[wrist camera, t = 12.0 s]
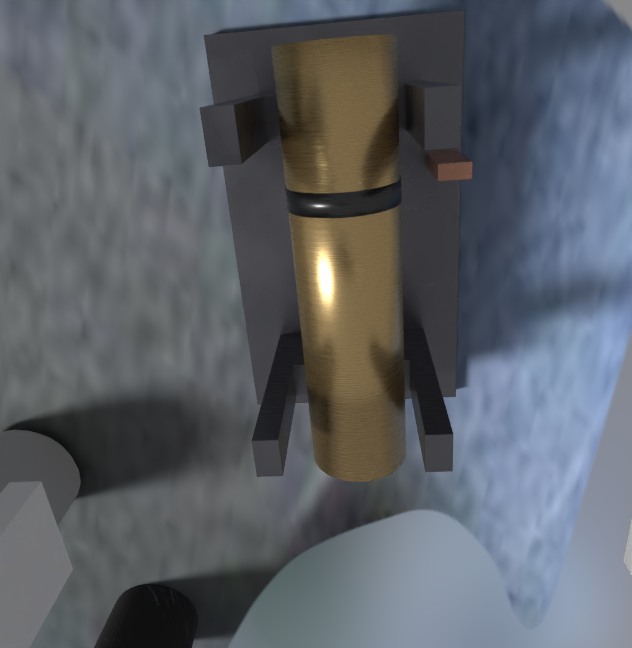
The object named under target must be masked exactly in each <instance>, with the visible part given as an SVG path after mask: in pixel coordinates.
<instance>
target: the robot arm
mask: <svg viewBox="0 0 632 648" xmlns="http://www.w3.org/2000/svg"><path fill="white" fill-rule="evenodd" d="M624 562H625V564H626V566H627V567H628V570H629V571H630V573H631V575H632V521H631V526H630V531H629V536H628V541H627V546H626V551H625V557H624ZM72 570H73V568H72V565H71V562H70V560H69V557H68V554H67V551H66V549H65V546H64V543H63V540H62V537H61V535H60V532H59V529H58V526H57V523H56V521H55V518H54V515H53V512H52V510H51V507H50V504H49V501H48V498H47V496H46V493H45V490H44V487H43V484H42V482H41V481H34V482H9V483H8V485H7V486H6V487H5V488H4V490H3V491H2V492H1V493H0V648H29V647H30V646H31V644H32V642H33V640H34V638H35V637H36V635H37V633H38V631H39V630H40V628H41V626H42V624H43V622H44V621H45V619H46V617H47V615H48V613H49V612H50V610H51V608H52V606H53V604H54V603H55V601H56V599H57V597H58V595H59V594H60V592H61V590H62V588H63V586H64V585H65V583H66V581H67V579H68V577H69V576H70V574H71V572H72Z"/></svg>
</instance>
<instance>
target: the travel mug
mask: <svg viewBox="0 0 632 648" xmlns="http://www.w3.org/2000/svg"><path fill="white" fill-rule="evenodd" d="M196 627H197V613H196V610H195V608H194V607H193V605H192V604H191V603H190V601H189V600H188V599H187V598H185V597H184V596H183V595H181V594H180V593H178V592H176V591H174V590H172V589H169V588H166V587H162V586H157V585H141V586H137V587H133V588H131V589H129V590H127V591H125V592H124V593H123V594H122V595H121V596H120V597H119V599H118V600H117V602H116V604H115V606H114V608H113V610H112V612H111V614H110V616H109V618H108V620H107V622H106V624H105V626H104V628H103V630H102V632H101V634H100V636H99V638H98V640H97V643H96V645H95V647H94V648H192V644H193V640H194V636H195V632H196Z"/></svg>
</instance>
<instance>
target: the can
mask: <svg viewBox="0 0 632 648" xmlns="http://www.w3.org/2000/svg"><path fill="white" fill-rule="evenodd" d="M34 481H41V482H42V484H43V487H44V490H45V493H46V496H47V498H48V501H49V504H50V507H51V510H52V512H53V515H54V518H55V521H56V523H57V526H58V524H59V523H60V521H61V519H62V518H63V516H64V515H65V513H66V512H67V510H68V509H69V507H70V506H71V504H72V503H73V501H74V499H75V498H76V496H77V495H78V492H79V488H80V484H81V480H80V474H79V469H78V467H77V466H76V464H75V462H74V460H73V458H72V457H71V456H70V454H69V453H68V452H67V451H66V450H65V449H64V448H63V447H62V445H61V444H59V443H58V442H56V441H55V440H53V439H51V438H50V437H48V436H45V435H42V434H39V433H34V432H31V431H24V430H9V431H4V432H0V493H1V492H2V491H3V490H4V488H5V487H6V486H7V485H8V483H9V482H34Z"/></svg>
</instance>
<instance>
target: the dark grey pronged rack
mask: <svg viewBox="0 0 632 648" xmlns="http://www.w3.org/2000/svg"><path fill="white" fill-rule="evenodd" d="M464 25H465V10H458V11H448V12H437V13H427V14H417V15H407V16H396V17H386V18H376V19H366V20H355V21H345V22H335V23H325V24H315V25H304V26H294V27H284V28H274V29H263V30H253V31H243V32H233V33H222V34H212V35H204V39H205V46H206V53H207V60H208V66H209V73H210V80H211V87H212V94H213V101H214V104H213V105H209V106H205V107H200V114H201V120H202V126H203V133H204V139H205V146H206V152H207V158H208V165H209V167H214V166H223V169H224V176H225V183H226V190H227V197H228V204H229V210H230V217H231V224H232V231H233V238H234V245H235V251H236V258H237V265H238V272H239V279H240V286H241V293H242V299H243V306H244V313H245V320H246V327H247V334H248V341H249V347H250V354H251V361H252V368H253V375H254V382H255V389H256V395H257V402H258V404H261V408H260V412H259V416H258V419H257V423H256V427H255V430H254V434H253V438H252V447H253V453H254V459H255V466H256V472H257V477H261V476H283V472H284V466H285V460H286V454H287V448H288V442H289V436H290V431H291V425H292V419H293V413H294V407H295V403H307V402H308V393H307V383H306V374H305V364H304V354H303V345H302V335H301V326H300V316H299V307H298V297H297V288H296V278H295V268H294V259H293V249H292V240H291V230H290V221H289V212H288V211H287V203H286V193H285V185H286V182H285V173H284V163H283V154H282V144H281V135H280V125H279V115H278V106H277V96H276V87H275V77H274V68H273V58H272V49H271V47H273V46H276V45H282V44H288V43H294V42H302V41H310V40H319V39H329V38H339V37H351V36H364V35H383V34H393V35H397V58H398V103H399V149H400V176H401V188H402V202H401V241H402V286H403V332H404V378H405V399H410V398H412V402H413V408H414V413H415V419H416V424H417V429H418V435H419V440H420V446H421V451H422V456H423V462H424V467H425V472H442V471H452V468H453V432H452V428H451V425H450V421H449V417H448V414H447V410H446V407H445V403H444V400H443V397H456V360H457V319H458V277H459V235H460V193H461V180H462V179H472V162H473V161H471V160H470V159H468V158H467V157H466V156H464V155H463V154H462V153H461V151H462V109H463V67H464Z"/></svg>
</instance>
